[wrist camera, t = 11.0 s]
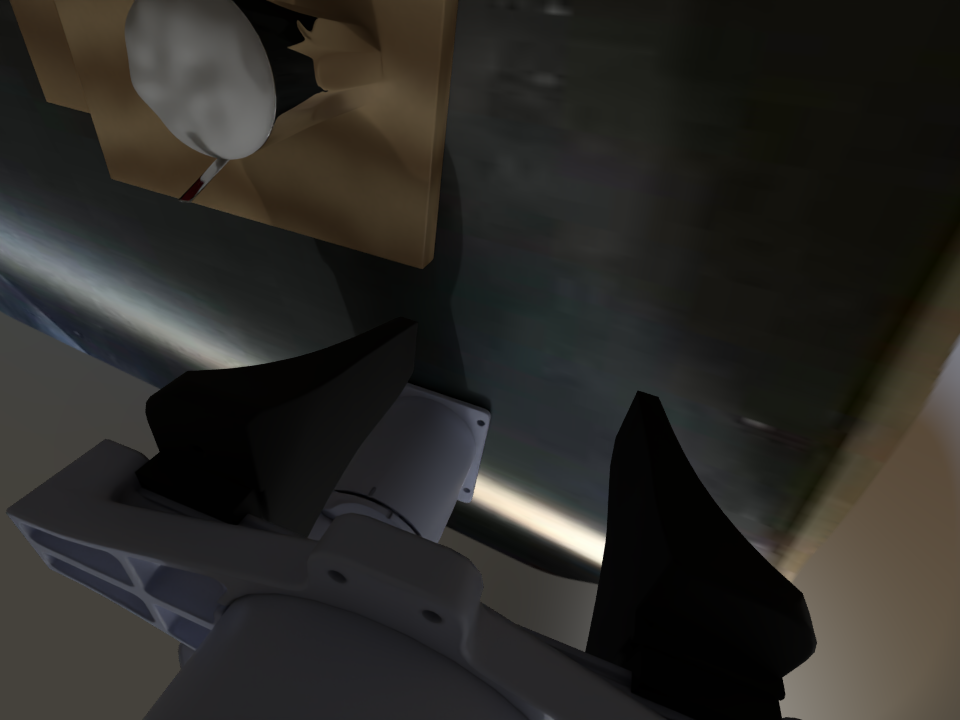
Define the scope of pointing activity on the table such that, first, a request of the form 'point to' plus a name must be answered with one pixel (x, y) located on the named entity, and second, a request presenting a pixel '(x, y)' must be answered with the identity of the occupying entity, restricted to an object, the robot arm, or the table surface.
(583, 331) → the table surface
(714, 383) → the table surface
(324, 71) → the milkshake
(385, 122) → the board
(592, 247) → the table surface
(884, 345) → the table surface
